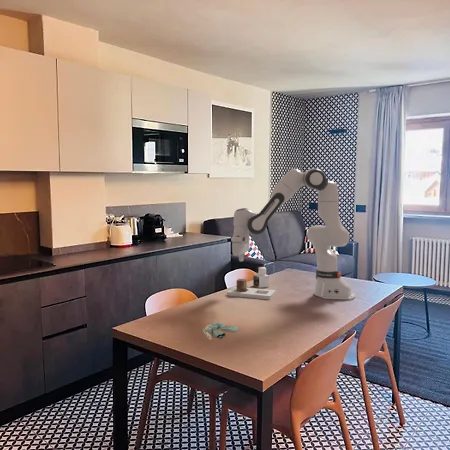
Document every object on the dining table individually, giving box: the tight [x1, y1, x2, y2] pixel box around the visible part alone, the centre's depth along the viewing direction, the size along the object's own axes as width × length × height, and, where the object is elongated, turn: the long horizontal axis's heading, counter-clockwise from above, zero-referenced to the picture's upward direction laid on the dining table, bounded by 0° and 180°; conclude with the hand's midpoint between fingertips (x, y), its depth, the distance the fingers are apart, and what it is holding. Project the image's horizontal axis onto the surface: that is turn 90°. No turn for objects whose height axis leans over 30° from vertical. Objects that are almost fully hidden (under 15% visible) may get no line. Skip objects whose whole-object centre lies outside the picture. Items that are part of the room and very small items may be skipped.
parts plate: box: [226, 286, 277, 301], centre depth 239 cm, size 25×13×2 cm, turn 69°
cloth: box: [203, 322, 239, 340], centre depth 180 cm, size 20×22×2 cm
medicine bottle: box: [252, 266, 270, 289], centre depth 257 cm, size 7×7×12 cm
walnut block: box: [236, 278, 248, 292], centre depth 240 cm, size 4×4×8 cm
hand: (241, 261), depth 239 cm, fingers closed
